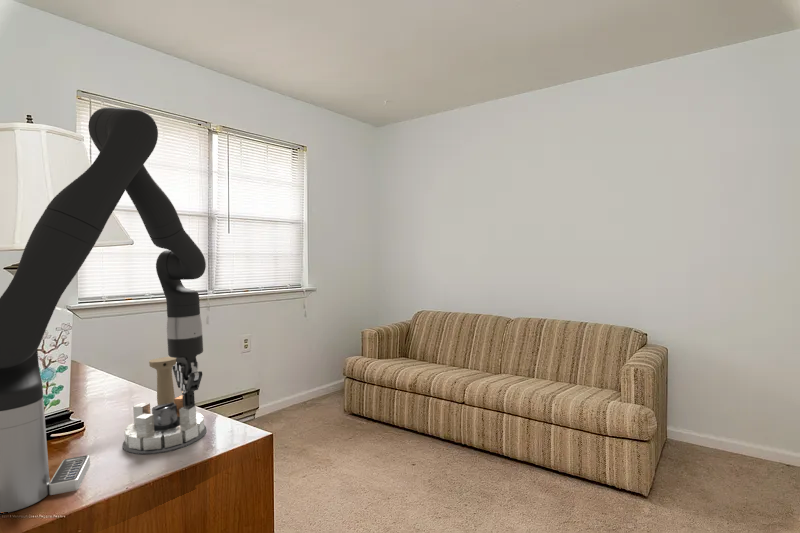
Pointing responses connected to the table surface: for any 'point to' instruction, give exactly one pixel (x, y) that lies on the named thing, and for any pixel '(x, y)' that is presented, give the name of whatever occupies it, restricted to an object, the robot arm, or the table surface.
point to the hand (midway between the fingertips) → (188, 407)
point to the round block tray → (148, 438)
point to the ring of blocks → (164, 428)
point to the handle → (164, 379)
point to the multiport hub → (69, 475)
